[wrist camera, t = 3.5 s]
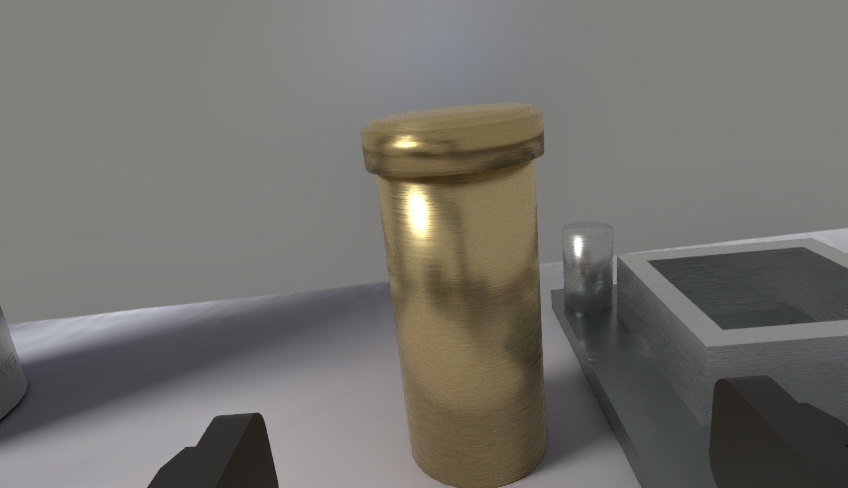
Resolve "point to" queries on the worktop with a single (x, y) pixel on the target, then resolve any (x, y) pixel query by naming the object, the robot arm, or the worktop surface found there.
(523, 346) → the gold metal cylinder
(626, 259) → the socket plate
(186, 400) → the worktop surface
